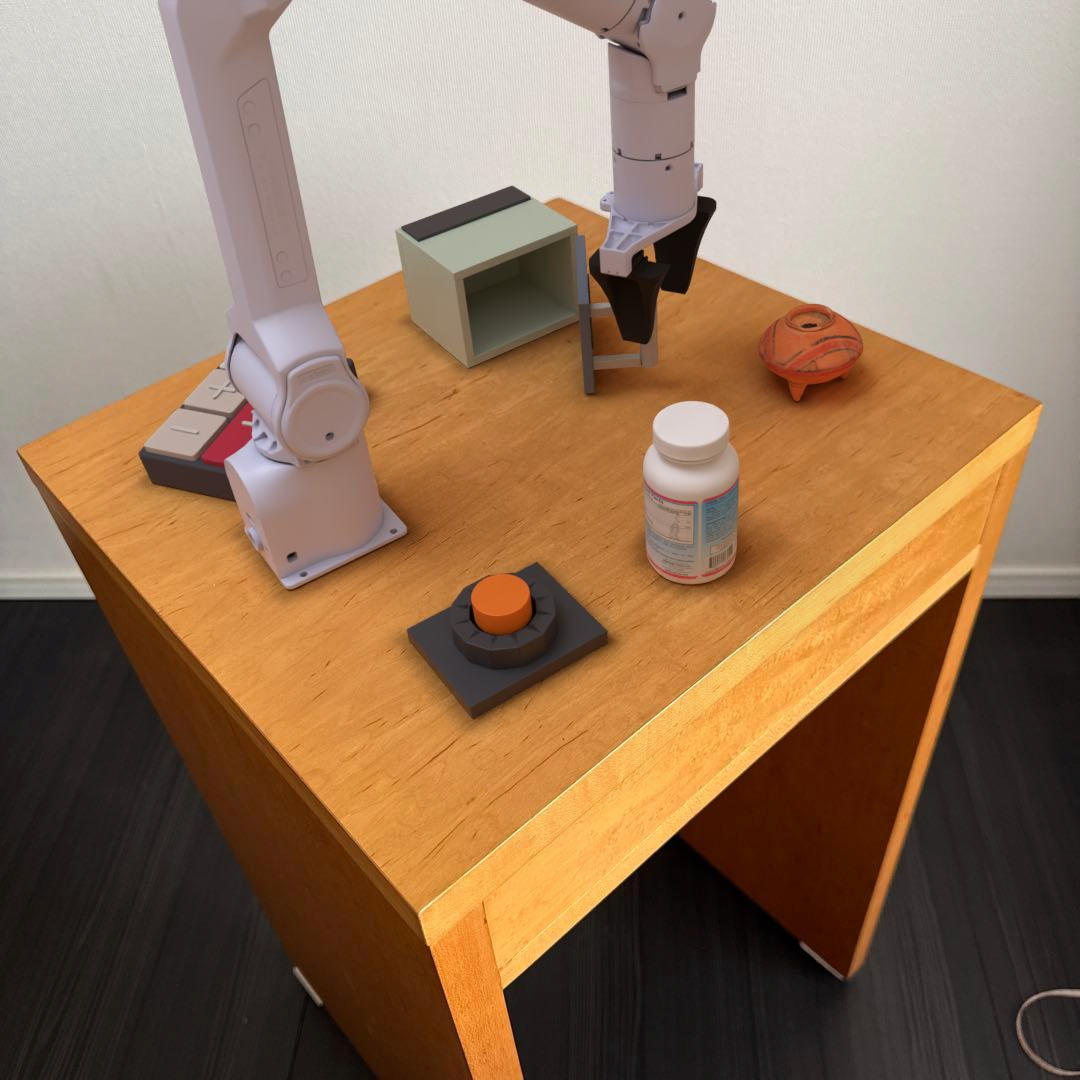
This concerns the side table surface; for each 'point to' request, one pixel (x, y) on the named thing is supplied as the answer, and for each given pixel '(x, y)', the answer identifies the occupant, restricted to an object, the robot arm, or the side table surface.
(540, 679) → the block
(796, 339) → the pot
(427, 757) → the side table surface
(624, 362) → the washer door
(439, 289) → the washer
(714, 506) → the pill bottle
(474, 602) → the button
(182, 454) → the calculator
